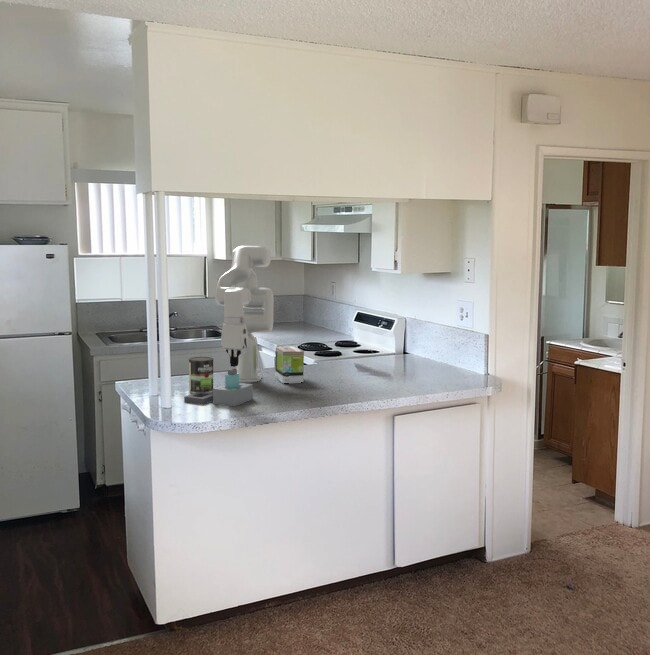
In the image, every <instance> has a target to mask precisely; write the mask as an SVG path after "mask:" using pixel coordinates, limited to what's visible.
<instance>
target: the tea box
mask: <svg viewBox="0 0 650 655" xmlns="http://www.w3.org/2000/svg"><path fill="white" fill-rule="evenodd" d="M274 355H275V356H274V357H275V360H274V361H275V365H274V366H275V367H274V369H275V370H274V373H275V376H274V377H275V378H276V379H277V380H278V381H279V382H281V384H284V383H289V384H302V383H301V382H303V383H304V369H305V366H304V365H305V362H304V361H305V350H303V349H301V348H298V347H297V346H275V354H274Z"/></svg>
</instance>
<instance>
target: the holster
mask: <svg viewBox="0 0 650 655" xmlns="http://www.w3.org/2000/svg"><path fill="white" fill-rule="evenodd" d="M183 398H184V400H183V402H184V403H189V404H195V405H196V404H197V405H206V404H208V403H212V402H213V392H211V393H206V392H196V393H190V394H188V395H185V396H183Z"/></svg>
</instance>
